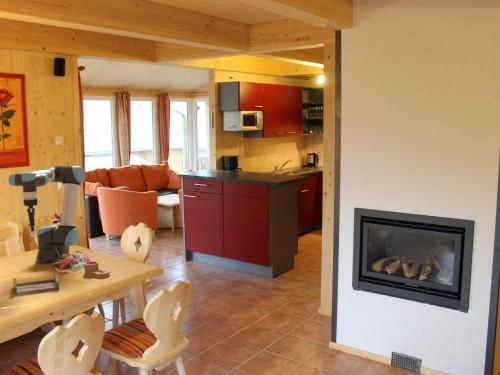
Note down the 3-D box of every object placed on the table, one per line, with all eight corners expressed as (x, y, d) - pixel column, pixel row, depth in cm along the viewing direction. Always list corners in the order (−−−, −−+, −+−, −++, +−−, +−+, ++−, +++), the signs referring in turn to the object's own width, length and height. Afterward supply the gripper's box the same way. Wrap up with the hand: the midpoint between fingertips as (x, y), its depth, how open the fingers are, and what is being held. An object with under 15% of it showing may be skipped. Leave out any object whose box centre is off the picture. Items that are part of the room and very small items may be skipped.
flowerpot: (74, 252, 356) (72, 210, 352) (68, 257, 342) (66, 214, 338) (54, 252, 355) (51, 211, 351) (47, 257, 341) (44, 214, 337)
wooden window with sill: (13, 286, 281) (13, 278, 280) (57, 281, 290) (56, 273, 290) (13, 296, 265) (13, 287, 265) (59, 289, 275) (59, 281, 274)
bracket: (81, 274, 303) (81, 263, 303) (92, 271, 310) (92, 260, 310) (102, 279, 294) (101, 267, 293) (112, 275, 301) (112, 264, 300)
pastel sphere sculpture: (47, 266, 322) (47, 252, 321) (83, 259, 337) (82, 246, 336) (61, 275, 303) (61, 260, 302) (98, 267, 318) (98, 253, 317)
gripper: (22, 196, 299) (25, 230, 302) (23, 202, 277) (25, 239, 279) (36, 195, 302) (38, 229, 305) (38, 201, 280) (40, 238, 283)
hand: (32, 234), depth 292 cm, fingers open, 13 cm apart
